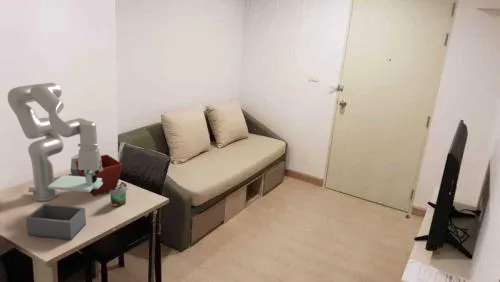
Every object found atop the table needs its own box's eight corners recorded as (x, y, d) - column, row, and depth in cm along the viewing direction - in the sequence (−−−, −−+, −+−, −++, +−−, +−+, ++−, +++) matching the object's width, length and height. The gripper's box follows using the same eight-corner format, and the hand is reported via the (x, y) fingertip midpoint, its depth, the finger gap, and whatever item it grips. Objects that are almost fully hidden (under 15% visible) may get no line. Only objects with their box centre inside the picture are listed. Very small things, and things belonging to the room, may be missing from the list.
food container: (120, 209, 205) (120, 192, 202) (109, 207, 206) (109, 190, 203) (132, 199, 217) (131, 183, 214) (121, 198, 218) (121, 181, 215)
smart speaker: (73, 172, 246) (72, 151, 242) (89, 172, 247) (88, 151, 243) (68, 178, 237) (67, 156, 233) (84, 178, 238) (83, 157, 234)
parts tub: (27, 235, 177) (25, 218, 174) (45, 220, 190) (43, 203, 187) (71, 240, 176) (70, 222, 173) (86, 224, 189) (84, 207, 186)
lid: (47, 190, 191) (46, 174, 189) (63, 179, 205) (62, 164, 203) (93, 194, 190) (92, 178, 188) (106, 182, 204) (105, 167, 202)
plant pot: (76, 187, 226) (74, 160, 221) (108, 180, 239) (107, 154, 234) (90, 200, 213) (88, 171, 208) (123, 191, 226) (122, 164, 221)
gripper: (69, 148, 188) (72, 183, 193) (102, 150, 187) (104, 186, 193) (76, 143, 195) (79, 177, 200) (108, 145, 194) (110, 180, 200)
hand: (91, 181), depth 196 cm, fingers closed on lid
